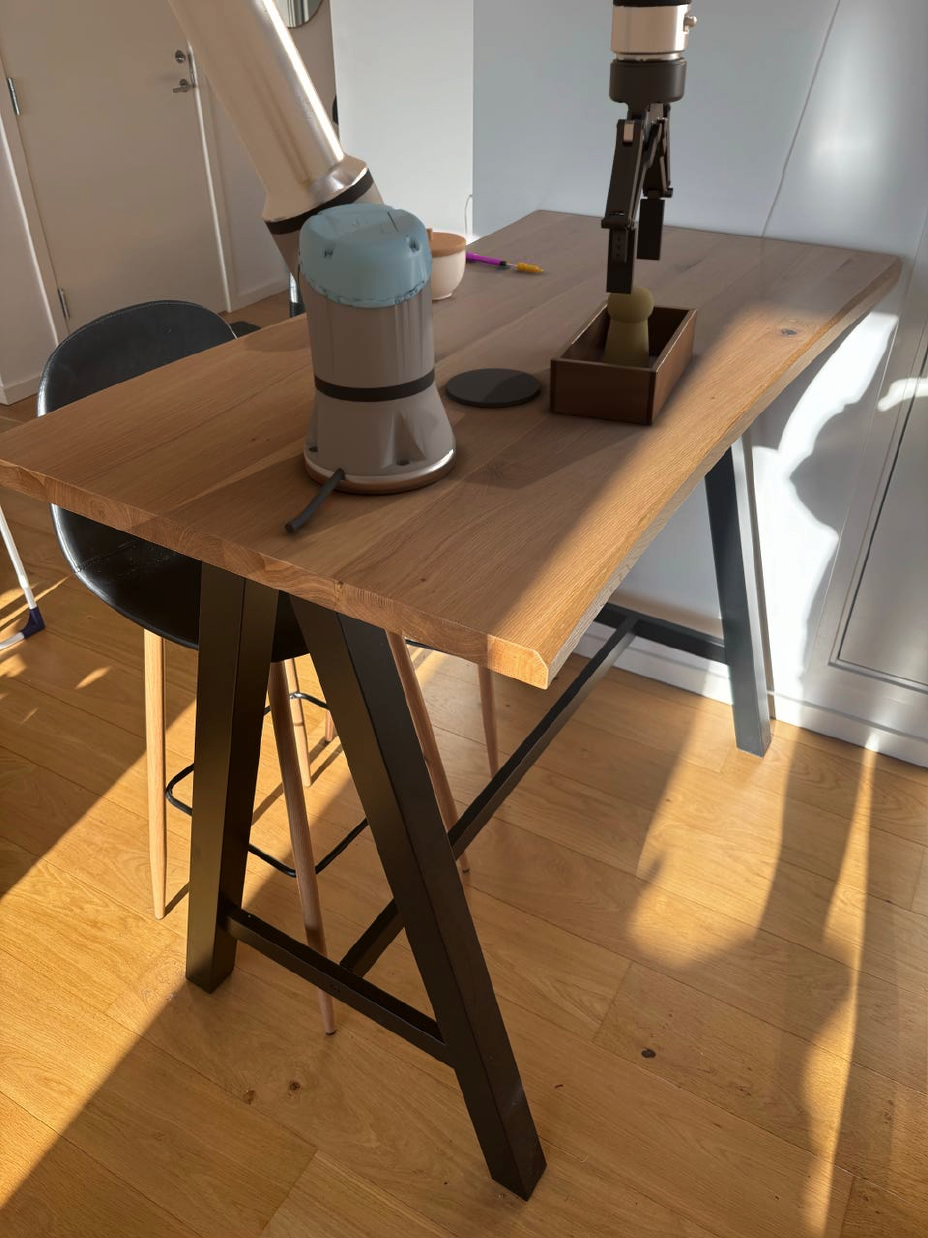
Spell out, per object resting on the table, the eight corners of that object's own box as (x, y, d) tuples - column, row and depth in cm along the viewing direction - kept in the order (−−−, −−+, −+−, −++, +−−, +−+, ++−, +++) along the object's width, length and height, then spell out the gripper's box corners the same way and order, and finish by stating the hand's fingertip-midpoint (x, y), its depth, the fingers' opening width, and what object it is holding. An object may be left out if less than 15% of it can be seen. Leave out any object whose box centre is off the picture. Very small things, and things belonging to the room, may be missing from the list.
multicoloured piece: (458, 259, 162) (539, 274, 154) (459, 251, 162) (540, 266, 154) (468, 259, 164) (548, 274, 156) (469, 252, 164) (549, 266, 156)
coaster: (522, 412, 109) (522, 407, 109) (431, 400, 113) (431, 395, 112) (552, 378, 118) (552, 373, 117) (466, 368, 121) (466, 363, 121)
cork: (626, 396, 113) (633, 299, 106) (588, 382, 116) (593, 288, 110) (661, 382, 116) (670, 288, 109) (622, 369, 120) (628, 277, 113)
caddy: (651, 425, 106) (656, 371, 102) (548, 411, 109) (550, 359, 106) (691, 356, 123) (697, 308, 119) (601, 346, 126) (604, 299, 123)
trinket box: (442, 308, 141) (440, 240, 136) (381, 298, 146) (377, 232, 140) (480, 289, 149) (479, 224, 143) (421, 280, 153) (418, 217, 148)
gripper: (659, 69, 86) (642, 311, 98) (709, 43, 105) (690, 248, 117) (576, 69, 89) (569, 305, 101) (640, 43, 108) (628, 244, 120)
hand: (634, 275), depth 109 cm, fingers open, 13 cm apart
